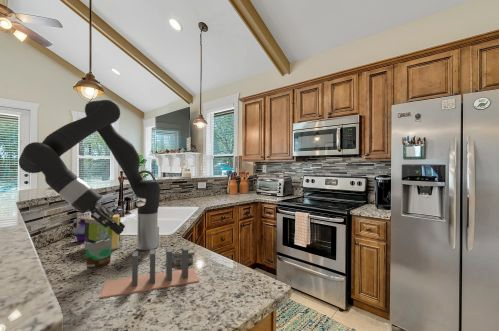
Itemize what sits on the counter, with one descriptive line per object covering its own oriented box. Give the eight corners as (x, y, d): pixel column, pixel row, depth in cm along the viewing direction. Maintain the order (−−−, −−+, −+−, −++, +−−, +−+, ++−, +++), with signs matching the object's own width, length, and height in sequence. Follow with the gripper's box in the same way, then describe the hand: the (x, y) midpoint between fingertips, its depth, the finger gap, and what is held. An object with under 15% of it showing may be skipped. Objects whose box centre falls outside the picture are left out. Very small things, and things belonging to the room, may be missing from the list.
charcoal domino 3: (167, 281, 87) (167, 252, 87) (166, 275, 92) (166, 248, 92) (172, 280, 88) (172, 251, 88) (170, 275, 92) (170, 247, 92)
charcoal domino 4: (183, 278, 89) (183, 250, 89) (181, 273, 94) (181, 246, 94) (188, 278, 90) (188, 249, 90) (186, 272, 94) (186, 245, 94)
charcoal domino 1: (132, 287, 83) (132, 256, 83) (132, 280, 87) (132, 251, 87) (137, 286, 83) (137, 255, 83) (137, 279, 88) (137, 251, 88)
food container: (97, 271, 96) (97, 245, 96) (83, 270, 97) (84, 244, 97) (120, 260, 108) (120, 236, 108) (107, 258, 109) (108, 235, 109)
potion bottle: (75, 239, 138) (75, 217, 138) (93, 238, 141) (93, 216, 141) (71, 244, 130) (71, 220, 130) (91, 242, 133) (91, 219, 133)
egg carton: (195, 262, 107) (196, 252, 107) (183, 268, 100) (183, 258, 100) (177, 257, 112) (177, 248, 112) (164, 263, 105) (164, 253, 105)
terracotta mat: (99, 298, 76) (99, 297, 76) (105, 281, 87) (105, 280, 87) (199, 281, 88) (199, 280, 88) (193, 268, 99) (193, 267, 99)
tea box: (120, 248, 124) (121, 217, 124) (99, 253, 116) (100, 221, 116) (104, 243, 132) (104, 214, 133) (83, 248, 124) (84, 217, 124)
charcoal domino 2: (150, 284, 85) (150, 254, 85) (149, 278, 89) (150, 249, 90) (155, 283, 85) (155, 253, 86) (154, 277, 90) (154, 249, 90)
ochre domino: (111, 248, 81) (112, 217, 81) (113, 244, 86) (114, 214, 86) (117, 247, 82) (117, 216, 82) (118, 243, 86) (119, 214, 86)
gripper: (85, 188, 75) (129, 226, 79) (94, 185, 88) (132, 218, 92) (63, 207, 73) (110, 245, 77) (76, 201, 86) (115, 234, 90)
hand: (122, 230), depth 84 cm, fingers closed on ochre domino, 5 cm apart
